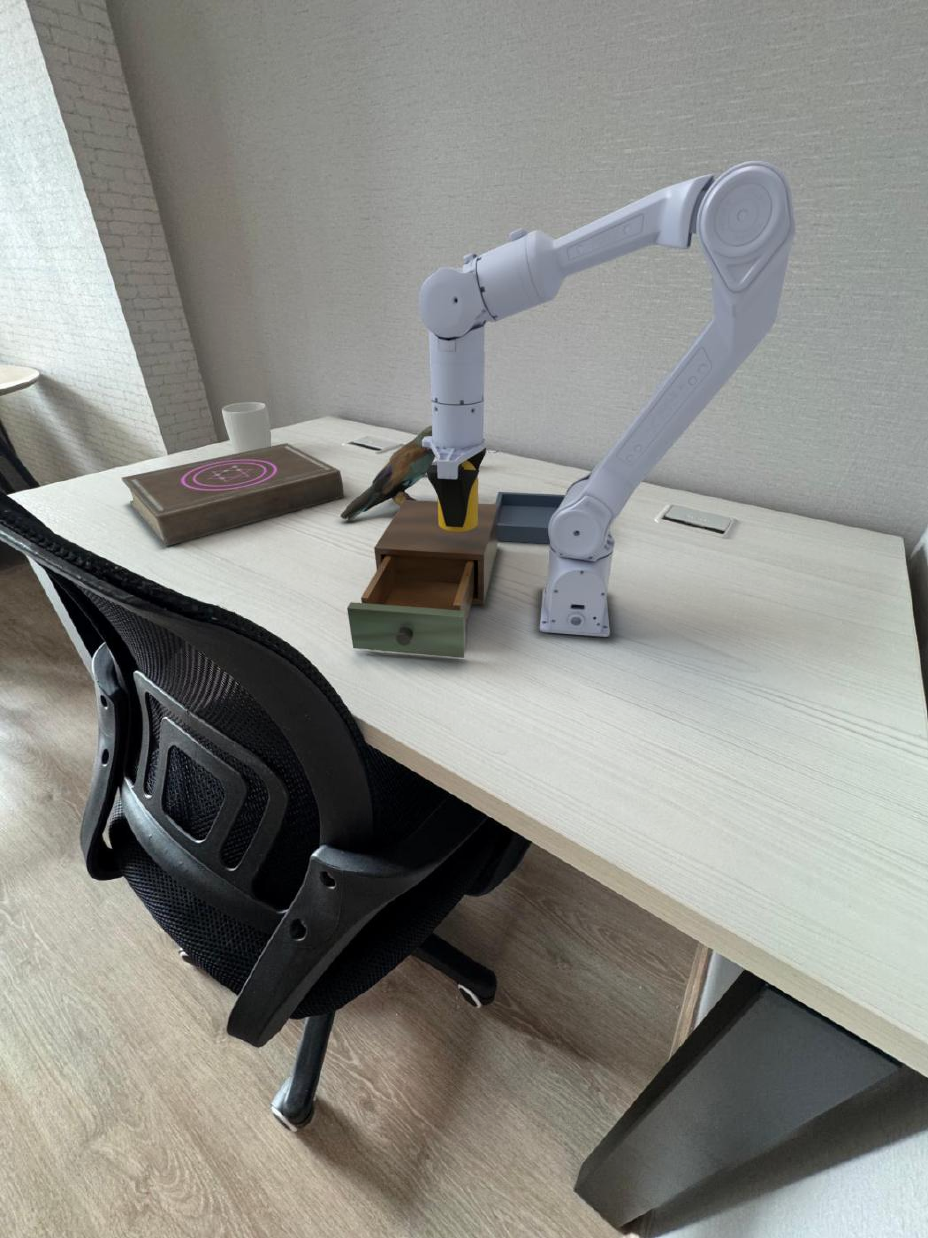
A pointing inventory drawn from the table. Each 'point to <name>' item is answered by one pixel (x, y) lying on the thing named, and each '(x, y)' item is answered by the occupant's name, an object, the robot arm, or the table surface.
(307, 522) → the table surface
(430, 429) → the bird figurine
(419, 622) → the drawer
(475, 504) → the pepper
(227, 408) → the mug
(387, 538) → the cabinet
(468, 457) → the robot arm
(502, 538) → the tray
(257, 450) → the book
